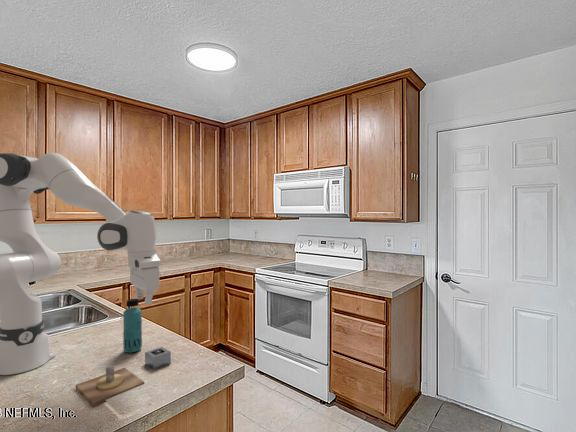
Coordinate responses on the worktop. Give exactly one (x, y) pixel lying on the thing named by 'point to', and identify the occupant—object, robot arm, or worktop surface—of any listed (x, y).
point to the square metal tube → (157, 358)
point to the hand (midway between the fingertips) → (144, 301)
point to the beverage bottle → (132, 327)
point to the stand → (156, 354)
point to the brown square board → (108, 385)
